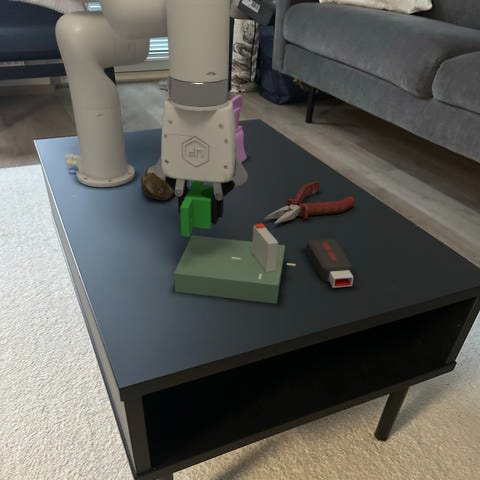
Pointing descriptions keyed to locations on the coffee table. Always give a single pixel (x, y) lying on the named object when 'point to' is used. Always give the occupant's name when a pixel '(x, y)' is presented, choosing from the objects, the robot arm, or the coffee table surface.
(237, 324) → the coffee table surface
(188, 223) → the pipe clamp
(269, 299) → the green rectangular block
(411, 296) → the coffee table surface
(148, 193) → the brown rock
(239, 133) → the toy chair
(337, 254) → the usb drive
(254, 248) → the square jaw plate
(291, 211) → the pliers
